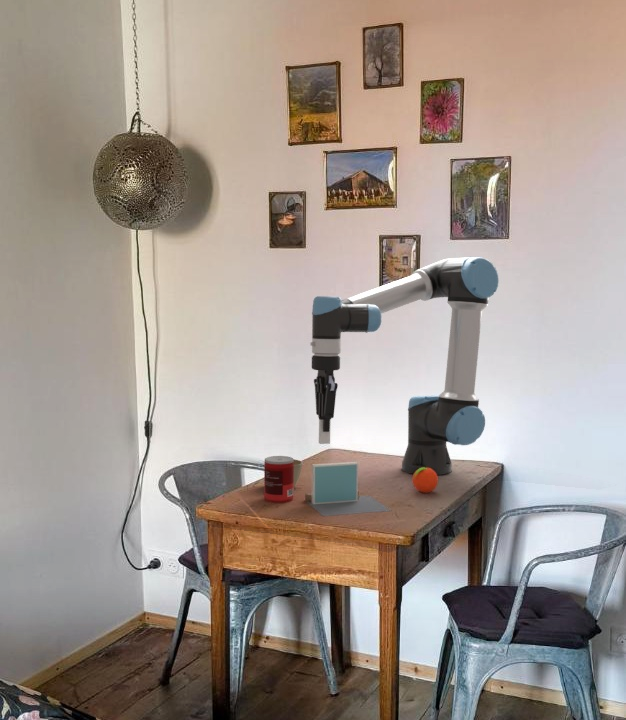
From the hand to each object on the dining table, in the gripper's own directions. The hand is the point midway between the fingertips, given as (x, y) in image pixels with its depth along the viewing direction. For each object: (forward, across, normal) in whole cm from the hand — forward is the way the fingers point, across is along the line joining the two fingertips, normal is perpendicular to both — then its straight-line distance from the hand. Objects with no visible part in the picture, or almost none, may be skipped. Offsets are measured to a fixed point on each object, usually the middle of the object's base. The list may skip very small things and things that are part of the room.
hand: (324, 443), depth 221 cm
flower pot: (+15, -12, -8) cm, 20 cm away
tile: (+14, +8, 0) cm, 16 cm away
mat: (+14, +12, +2) cm, 19 cm away
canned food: (+15, +1, -12) cm, 19 cm away
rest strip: (+14, +6, 0) cm, 15 cm away
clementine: (+14, +4, +28) cm, 31 cm away
